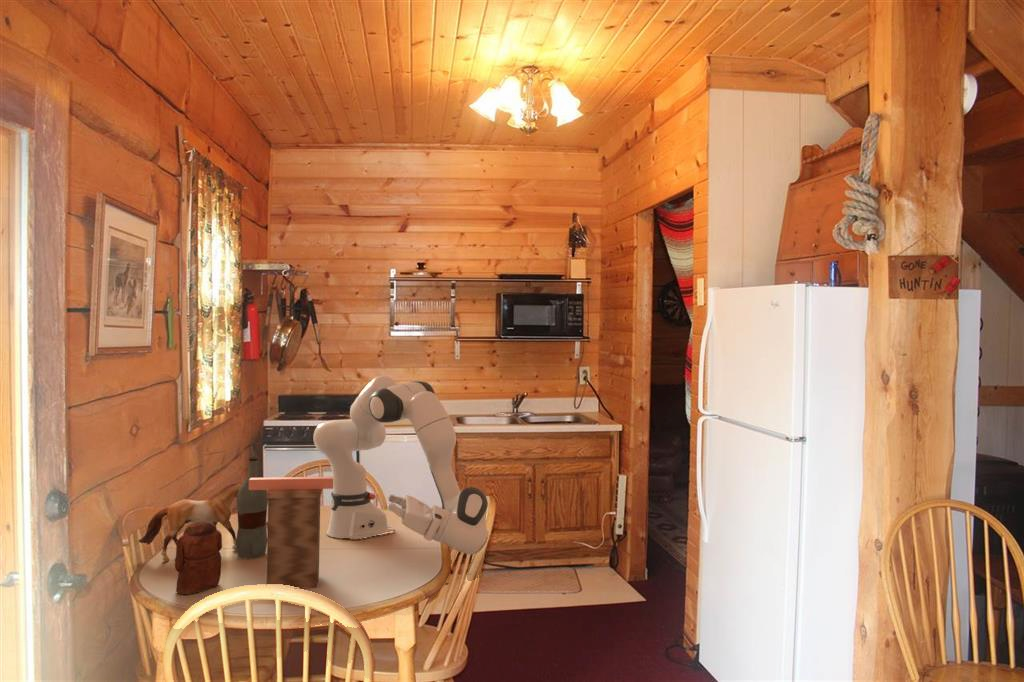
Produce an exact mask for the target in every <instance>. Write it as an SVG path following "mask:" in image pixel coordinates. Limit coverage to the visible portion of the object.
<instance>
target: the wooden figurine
mask: <svg viewBox="0 0 1024 682" xmlns="http://www.w3.org/2000/svg"><path fill="white" fill-rule="evenodd" d="M177 540H178V541H177V546H176V549H175V559H174V567H175V571H176V572H178V574H177V579H176V587H175V588H176V589H175V593H176V592H177V593H176V594H178V593H179V595H183V594H186V595H191V594H192V593H193V594H196V592H197V593H199V591H200V592H202V591H204V590H207V589H210V588H213V587H217V586H218V585H219V583H220V579H221V573H222V556H221V552H220V551H221V550H222V548H223V535H222V532H221V531H220V530H218V529H217V525H216V526H215V525H214V524H213V523H211V522H209V521H205V520H200V521H196V522H190V524H189V525H187V527H185V529H184V531H183V533H182V536H180V537H179V538H177ZM193 594H192V595H193Z"/></svg>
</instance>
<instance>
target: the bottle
mask: <svg viewBox="0 0 1024 682" xmlns="http://www.w3.org/2000/svg"><path fill="white" fill-rule="evenodd" d="M258 458H259V457H258V456H253V455H252V456H249V457H248V475H247V477H246V478H245V479H244V481H243V482H242V483H243V484H242V483H241V484H242V486H241V487H240V489H239V492H238V496H237V498H236V508H237V510H236V512H237V526H238V527H237V533H236V550H237V551H236V553H237V555H236V556H237V557H238V558H239V557H240V559H243V558H247V559H246V560H249V559H250V560H251V558H252V560H253V559H258V558H262V557H263V556H265V555H266V553H267V537H268V530H267V523H266V515H267V506H268V498H266V492H267V490H249V479H250V478H261V477H260V476H259V475H258V466H259V465H258V463H259V462H258V460H259V459H258Z"/></svg>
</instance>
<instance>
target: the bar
mask: <svg viewBox="0 0 1024 682" xmlns="http://www.w3.org/2000/svg"><path fill="white" fill-rule="evenodd" d="M285 489H323V490H333V477H332V476H291V477H290V476H288V477H287V476H284V477H281V476H280V477H277V476H276V477H274V476H273V477H260V478H250V479H249V490H285Z"/></svg>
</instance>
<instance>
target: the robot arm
mask: <svg viewBox="0 0 1024 682" xmlns="http://www.w3.org/2000/svg"><path fill="white" fill-rule="evenodd" d="M349 409H350V410H349V416H350V418H349V419H334V420H329V421H324V422H322V423H318V425H317V426H316V428H315V429H314V431H313V437H312V439H313V443H314V446H315V448H316V449H317V450H318V452H320V453H322V454H323V455H324V456H325V457H326V459H327V460H328V462H329V465H330V467H331V475H332V476H331V477H333V489H332V491H331V492H330V493H331V495H330V509H331V510H330V512H331V513H330V517H329V518H330V519H329V523H328V524H329V525H328V528H327V531H326V535H327V536H329V537H330V538H334V537H335V539H343V538H350V539H349V540H352V539H360V540H362V539H361V538H364V537H370V536H374V535H378V534H382V533H385V532H390V531H393V529H394V530H395V528H394V527H393V526H392V525H391V524H389V523H388V518H387V514H386V513H385V511H383V509H381V508H380V507H378V506H377V505H375V503H373V502H371V500H372V501H373V500H375V499H376V497H377V495H376V494H375V493H373V492H369V491H367V490H366V489H367V486H366V485H367V483H366V482H367V472H366V468H365V467H364V466H363V465H362V464H361V463H360V462H358V461H355V460H354V457H353V452H361V451H370V450H372V449H376V448H378V447H379V448H380V447H381V446H382V445H383V443H384V442H385V440H386V435H387V431H386V427H385V425H384V424H383V423H385V424H389V423H394V422H399V421H403V420H409V422H411V424H412V427H413V430H414V431H415V432H414V433H415V435H416V437H417V439H418V441H419V443H420V447H421V448H422V450H423V453H424V455H425V458H426V461H427V464H428V466H429V470H430V473H431V476H432V479H433V481H434V483H435V486H436V489H437V492H438V495H439V498H440V500H441V507H440V506H438V505H436V504H434V505H433V506H432V507H429V505H428V504H426V502H424V501H421V500H419V499H417V498H415V497H414V496H411V495H409V494H408V495H406V496H405V497H401V496H397V495H395V494H390V495H389V497H388V501H389V502H390V503H389V505H388V508H387V509H388V511H390V512H392V513H394V514H395V515H396V516H398V517H400V518H401V524H403V526H405V527H406V528H407V529H410V530H411V531H413V532H415V533H417V534H419V535H421V536H423V538H424V539H425V540H427V541H432V540H433V541H435V542H438V543H443V544H445V545H446V546H448V547H449V548H450V549H454V550H456V551H457V552H461V553H462V554H466V555H471V556H473V555H476V554H478V553H479V552H480V551H481V550H482V549H483V548H484V546H485V545H486V544H487V541H488V539H489V531H488V528H487V509H488V506H489V505H488V498H487V496H486V494H485V493H484V492H483V490H481V489H479V488H478V487H474V486H473V487H471V486H468V487H466V488H464V489H462V490H461V489H460V487H459V483H458V482H457V478H456V476H455V473H454V471H453V465H452V461H453V454H454V449H455V447H456V445H457V443H456V442H457V435H456V431H455V428H454V424H453V422H452V420H451V418H450V416H449V413H448V411H447V410H446V409H445V406H444V405H443V404H442V402H441V401H440V399H439V397H438V396H437V395H436V393H435V390H434V388H433V386H432V385H431V384H429V383H428V382H426V381H418V380H416V381H411V382H404V383H397V382H396V381H395V379H393V378H392V377H390V376H388V375H379V376H376V377H374V378H373V379H372V380H371V381H370V382H368V384H366V386H365V387H364V388H363V389H361V391H360V393H359V394H358V395H357V397H356V398H355V400H354V402H353V403H352V404H351V405H350V408H349ZM388 528H393V529H388ZM370 538H371V537H370Z"/></svg>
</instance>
